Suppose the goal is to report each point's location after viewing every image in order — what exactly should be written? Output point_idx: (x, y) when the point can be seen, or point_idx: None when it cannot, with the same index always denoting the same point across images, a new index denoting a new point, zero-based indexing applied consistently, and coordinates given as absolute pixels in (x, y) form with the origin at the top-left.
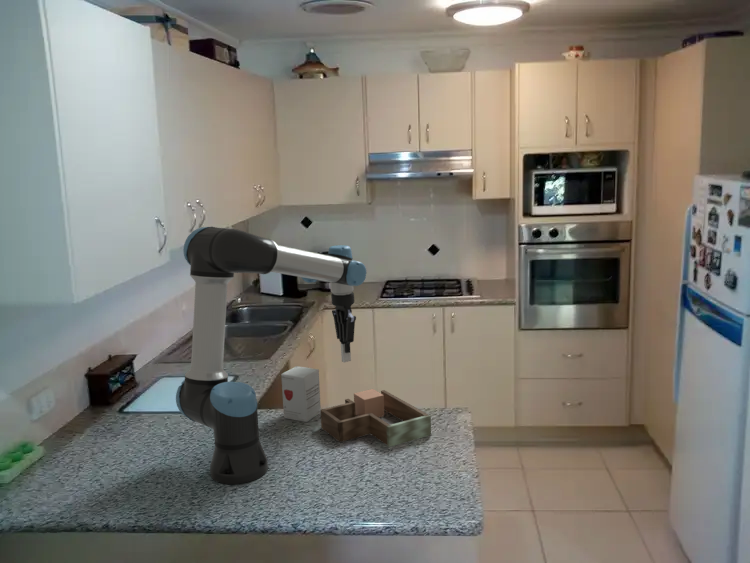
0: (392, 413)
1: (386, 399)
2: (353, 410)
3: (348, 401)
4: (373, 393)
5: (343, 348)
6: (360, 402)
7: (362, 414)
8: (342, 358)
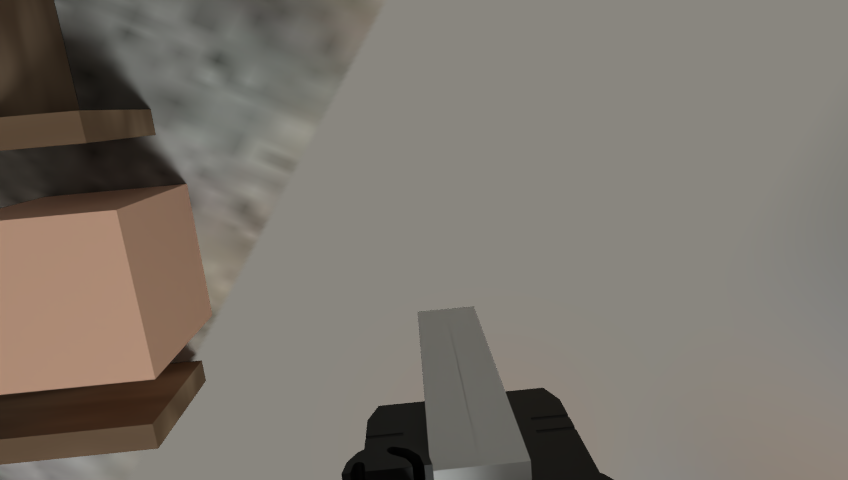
0: None
1: (98, 407)
2: None
3: (15, 116)
4: (48, 345)
5: (428, 419)
6: (29, 212)
7: (58, 198)
8: (452, 326)
